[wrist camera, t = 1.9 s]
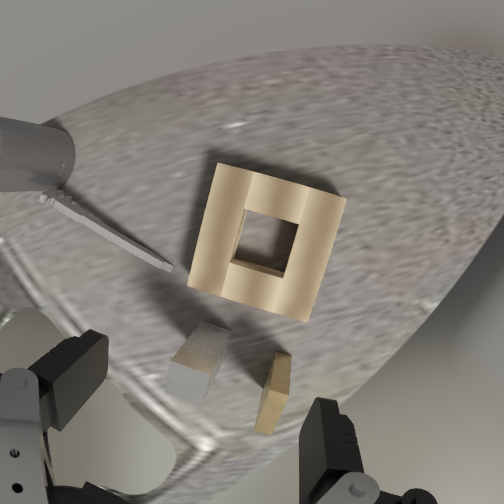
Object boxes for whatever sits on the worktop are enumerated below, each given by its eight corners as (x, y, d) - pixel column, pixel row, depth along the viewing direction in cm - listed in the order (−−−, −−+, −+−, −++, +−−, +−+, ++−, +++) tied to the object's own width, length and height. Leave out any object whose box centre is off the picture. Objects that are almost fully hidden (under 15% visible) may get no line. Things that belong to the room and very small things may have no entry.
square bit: (195, 347, 41) (164, 391, 30) (201, 320, 40) (170, 360, 29) (224, 357, 40) (201, 405, 30) (232, 330, 40) (209, 374, 29)
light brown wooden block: (262, 388, 40) (254, 430, 32) (276, 351, 39) (269, 390, 31) (277, 392, 40) (271, 435, 31) (291, 355, 39) (288, 395, 30)
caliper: (61, 196, 41) (32, 197, 34) (64, 189, 40) (35, 189, 34) (171, 272, 40) (150, 284, 34) (175, 264, 40) (154, 276, 33)
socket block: (195, 279, 39) (187, 285, 36) (223, 165, 37) (217, 162, 34) (306, 313, 38) (307, 322, 35) (342, 198, 35) (346, 198, 32)
